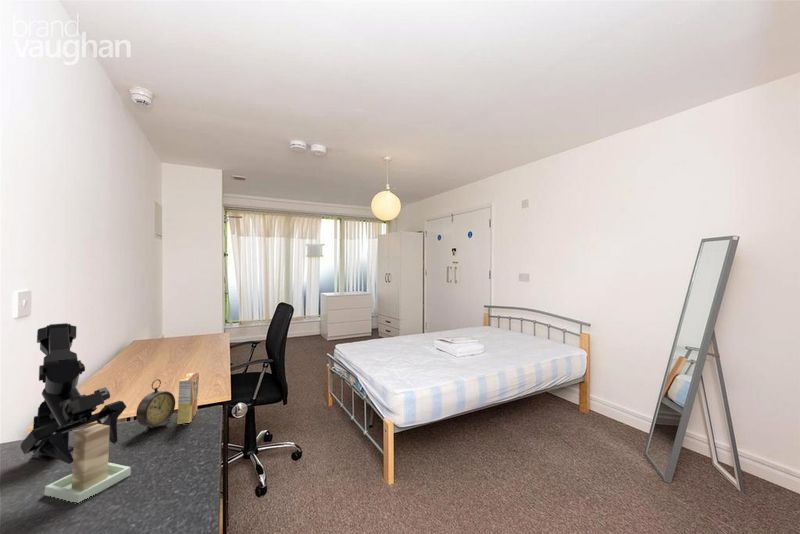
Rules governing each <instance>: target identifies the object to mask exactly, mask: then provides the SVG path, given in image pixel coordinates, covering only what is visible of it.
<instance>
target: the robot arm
mask: <svg viewBox="0 0 800 534" xmlns="http://www.w3.org/2000/svg"><path fill="white" fill-rule="evenodd" d="M76 338H77V326H76V325H72V324H71V323H65V322H64V323H51V324H49V325H46V326H44V327H41V328H38V329H37V332H36V343H37V344H39V351H41V352H42V354H43V355H45V356H44V357H43V361H42V362H43V364H41V365H39V366H38V367H39V368H38V381H39V382H40V381H42V383H43V384H44V388H43V390H42V391H41V395H42V398H43V401H42V402H41V403H40V404H39V406H38V408H37V415H35V416H33V421H32V422H33V424H32V429H31V431H30V432H29V434H28V435H27V436H26V437H25V438H24V439H23V440H22V442H21V443H20V449H21V451H22V453H23V454H25V455H27V454H30V453H31V452H32V453H33V454H31V457H30V458H32V459H33V458H34V459H38V460H41V461H49V460H51V459H52V460H53V459H57V460H60V461H62V462H63V463H66V464H68V465H69V464H73V454H72V453H71V451H73V448H74V446H72V445H69V444H70V443H69V442H70V436H69V435H70V431H74V430H76V429H79V428H82V427H83V426H84V427H85V426H87V425H89V424H92V423H95V422H96V423H97V424H103V425H108V426H110V433H109V442H111V443H112V445H115V444H117V442H118V428H117V425H118V419H119V417H120V416H121V415H122V413H123V412H124V411H125V409H127V405H126V404H125V402H124V401H123V400H117V401H115V402H110V403H108V404H105V401H107V400H109V399H110V397H111V394H110V390H108V388H107V387H102V388H98V389H97V390H94V392H93V393H91V394H88V395H86V394H85V393H84V394H81V393H80V391H79V390H78V388H77V386H78V385H79V383H78V382H79V379H80V375H82V374H83V373H84V372H85V371H86V366H85V364H84V363H83V362H82V360H80V359H79V360H78V353H76V352H73V351H71V348H72V346H73V341H74V340H76ZM104 404H105V405H104ZM100 405H104V406H103V407H102V408H101V409H100V411H99V412H96V410H97V409H98V408H97V407H98V406H100ZM93 412H96V413H93Z"/></svg>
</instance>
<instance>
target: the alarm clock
mask: <svg viewBox="0 0 800 534" xmlns="http://www.w3.org/2000/svg"><path fill="white" fill-rule="evenodd" d="M157 381H158V382H159V385H158V387H155V388H154V384H155V382H157ZM161 384H162V382H161V379H158V378H157V379H155V380H153V382H152V383H151V389H152V390H154V391H151V392H150V393H148V394H146V395H145V396H144V397H143V398H142V399H141V401H140V402H139V403H138V405H137V409H136V412H135V415H136V420H137V422H138V423H139V424H140V425H141V426H143V427H146V429H145V431H144V432H147V433H148V430H150V428H151V427H152V428H153V427H156V428H157V427H161V426H162V425H164V424H166V422H168V421H170V422H171V420H170V418H171V417H172V416H173V414H174V411H175V408H176V398H175V396H174V394H173V393H172V392H171V391H166V390H165V391H158V389H159V388H160V387H161Z"/></svg>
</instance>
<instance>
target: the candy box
mask: <svg viewBox="0 0 800 534" xmlns="http://www.w3.org/2000/svg"><path fill="white" fill-rule="evenodd" d="M199 377H200V374H199V372H191V373H186V374H185V375H184V376H183V377H181V379H180V380H179V382H178V401H177V402H178V403H177V405H178V406H177V422H176V423H177V424H182V423H190V422H192V421H193V420H194V419H193V417H194V416H195V414H196V411H197V412H198V401H199V399H198V396H199ZM196 415H197V414H196ZM195 417H196V416H195ZM195 417H194V418H195ZM192 419H193V420H192ZM177 424H176V425H177ZM190 424H191V423H190Z"/></svg>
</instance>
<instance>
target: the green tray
mask: <svg viewBox="0 0 800 534" xmlns="http://www.w3.org/2000/svg"><path fill="white" fill-rule="evenodd" d="M131 470H132V467H130V466H128V465H122V464H118V463H114V462H109V461H108V478H106V479H104V480H102V481H101V482H99V483H97V484H95V485H93V486H91V487H89V488H87V489H85V490H84V491H82V490H78V489H74V488H72V473H71V474H68V475H67V476H64V477H62V478H60V479H58V480H56V481H54V482H53V481H52V482H51V483H49V484H47V485H45V486H44V496H46V497H50V496H51V497H50V498H53V497H55V498H54V499H57V498H59V499H58V500H61V499H63V500H62V501H64V500H66V501H65V502H68V501H70V502H69V503H72V502H77V503H79V502H80V501H82V500H84V499H87V498H88V499H90V498H91V497H90V496H92V497H93V495H94V496H95V494H96V495H97V494H99V493H100V492H103V491H105V490H107V489H108V488H110V487H111V486H114V485H115V484H117V483H119V482H121V481H122V480H124V479H126V478H128V477H130V476H131V472H132V471H131ZM89 497H90V498H89ZM88 499H87V500H88ZM79 504H80V503H79Z"/></svg>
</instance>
